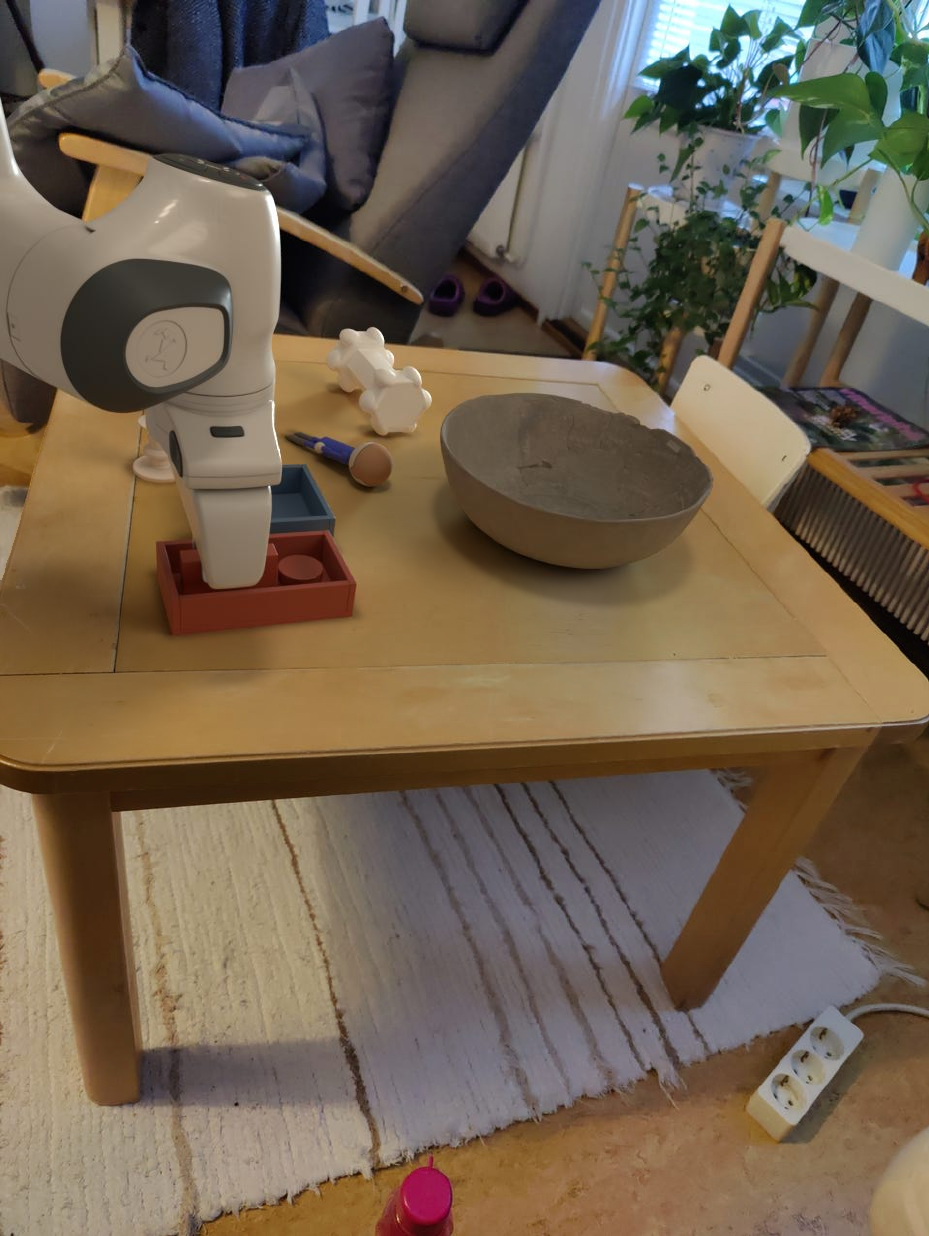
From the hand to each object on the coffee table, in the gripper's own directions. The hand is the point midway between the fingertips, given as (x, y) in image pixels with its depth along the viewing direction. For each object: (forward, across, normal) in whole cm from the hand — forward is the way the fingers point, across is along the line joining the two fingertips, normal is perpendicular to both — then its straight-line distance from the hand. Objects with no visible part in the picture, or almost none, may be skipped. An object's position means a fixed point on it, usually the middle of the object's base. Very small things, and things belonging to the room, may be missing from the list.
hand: (209, 566), depth 70 cm
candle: (+4, -22, -1) cm, 22 cm away
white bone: (+4, -35, +26) cm, 44 cm away
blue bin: (+4, -11, +7) cm, 14 cm away
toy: (+4, -22, +17) cm, 28 cm away
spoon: (+2, 0, +4) cm, 4 cm away
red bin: (+4, 0, +4) cm, 5 cm away
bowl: (+4, -7, +37) cm, 38 cm away
